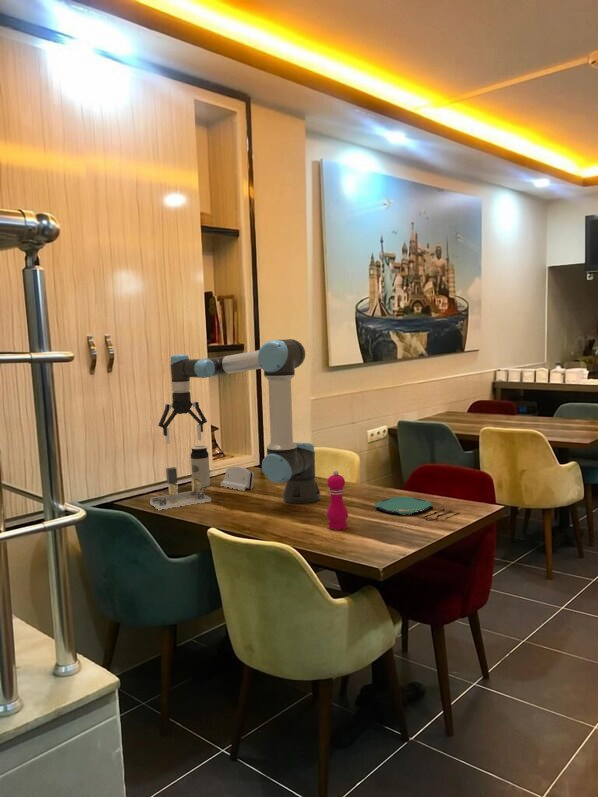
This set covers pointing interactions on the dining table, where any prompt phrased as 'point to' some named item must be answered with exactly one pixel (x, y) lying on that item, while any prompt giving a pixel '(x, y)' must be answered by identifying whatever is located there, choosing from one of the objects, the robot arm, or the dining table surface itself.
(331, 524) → the pepper mill
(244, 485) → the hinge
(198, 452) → the travel mug
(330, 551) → the dining table surface
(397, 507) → the teal flat plaque
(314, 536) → the dining table surface
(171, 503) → the bolt plate
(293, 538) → the dining table surface
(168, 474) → the sliding leg
